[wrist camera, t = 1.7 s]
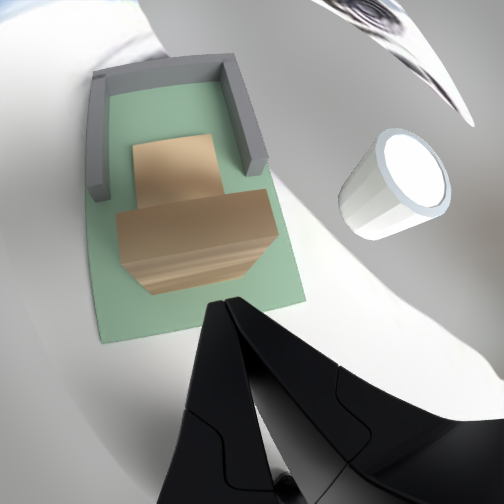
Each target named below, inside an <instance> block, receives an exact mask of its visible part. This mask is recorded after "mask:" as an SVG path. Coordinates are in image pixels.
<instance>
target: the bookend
mask: <svg viewBox="0 0 504 504" xmlns="http://www.w3.org/2000/svg"><path fill="white" fill-rule="evenodd" d="M133 160H134V173H135V185H136V196H137V205H138V209H136V210H131V211H125V212H121V213H116V214H115V215H116V226H117V236H118V245H119V253H120V261H121V265H122V266H123V267H124V268H125V269H126V270H127V271H128V272H129V273H130V274H131V275H132V276H133V277H134V278H135V279H136V280H137V281H138V282H139V283H140V284H141V285H142V286H143V287H144V288H145V289H146V290H147V291H148V292H149V293H150V294H151V295H158V294H163V293H168V292H173V291H178V290H184V289H189V288H194V287H199V286H204V285H209V284H214V283H219V282H224V281H229V280H234V279H238V278H242V277H243V276H244V275H245V274H246V272H247V271H248V270H249V269H250V268H251V267H252V266H253V264H254V263H255V262H256V261H257V260H258V259H259V258H260V256H261V255H262V254H263V253H264V252H265V251H266V250H267V248H268V247H269V246H270V245H271V244H272V243H273V241H274V240H275V239H276V238H277V237H278V236H279V233H278V230H277V226H276V222H275V219H274V215H273V211H272V208H271V204H270V201H269V197H268V194H267V190H266V189H259V190H251V191H244V192H237V193H230V194H225V193H224V189H223V184H222V180H221V176H220V171H219V167H218V162H217V158H216V153H215V149H214V144H213V140H212V135H211V134H204V135H196V136H188V137H181V138H174V139H168V140H161V141H155V142H150V143H144V144H138V145H133Z"/></svg>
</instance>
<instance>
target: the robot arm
mask: <svg viewBox="0 0 504 504" xmlns="http://www.w3.org/2000/svg"><path fill="white" fill-rule="evenodd" d="M253 401H254V402H253ZM254 403H255V405H256V407H257V409H258V411H259V413H260V415H261V417H262V419H263V421H264V423H265V425H266V427H267V429H268V431H269V433H270V435H271V437H272V439H273V441H274V443H275V444H276V446H277V448H278V450H279V452H280V454H281V456H282V458H283V460H284V461H285V463H286V465H287V467H288V469H289V471H290V473H291V474H292V475H291V474H289V473H283V474H281V475H280V476H279V477H278V478H277V479H276V480H275V481H274V482H273V480H272V476H271V472H270V468H269V464H268V460H267V456H266V452H265V448H264V444H263V440H262V435H261V431H260V427H259V423H258V419H257V414H256V410H255V406H254ZM284 478H288V479H287V480H286V481H283V479H284ZM156 504H504V419H495V420H481V421H455V420H450V419H446V418H442V417H439V416H437V415H434V414H432V413H430V412H427V411H425V410H423V409H421V408H418V407H416V406H414V405H412V404H410V403H407V402H405V401H403V400H401V399H399V398H397V397H395V396H393V395H390V394H388V393H387V392H385V391H383V390H381V389H379V388H377V387H375V386H373V385H371V384H369V383H368V382H366V381H364V380H363V379H361V378H359V377H358V376H356V375H354V374H353V373H351V372H350V371H348V370H347V369H345V368H344V367H342V366H339V367H338V364H337V363H336V362H334V361H333V360H331V359H330V358H328V357H327V356H325V355H324V354H322V353H321V352H319V351H318V350H316V349H315V348H313V347H312V346H310V345H309V344H307V343H306V342H305V341H303V340H302V339H300V338H299V337H297V336H296V335H294V334H293V333H291V332H290V331H288V330H287V329H286V328H284V327H283V326H281V325H280V324H278V323H277V322H276V321H274V320H273V319H271V318H270V317H268V316H267V315H266V314H264V313H263V312H261V311H260V310H258V309H257V308H256V307H254V306H253V305H251V304H250V303H249V302H247V301H246V300H244V299H243V298H242V297H239V296H237V297H232V298H227V299H225V301H223V300H218V301H213V302H209V303H208V304H207V307H206V312H205V316H204V320H203V325H202V329H201V334H200V338H199V343H198V347H197V352H196V356H195V361H194V365H193V370H192V375H191V380H190V384H189V389H188V394H187V399H186V404H185V410H184V413H183V418H182V423H181V427H180V431H179V436H178V440H177V444H176V447H175V451H174V454H173V457H172V460H171V464H170V467H169V470H168V472H167V475H166V478H165V481H164V484H163V486H162V489H161V492H160V495H159V498H158V501H157V503H156Z"/></svg>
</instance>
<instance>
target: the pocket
mask: <svg viewBox="0 0 504 504" xmlns="http://www.w3.org/2000/svg"><path fill="white" fill-rule="evenodd" d="M215 81H220V84H221V88H222V92H223V95H224V99H225V102H226V106H227V110H228V113H229V117H230V121H231V125H232V128H233V132H234V136H235V139H236V143H237V147H238V151H239V154H240V158H241V162H242V166H243V169H244V173H245V177H250V176H259V175H261V174H262V172H263V169H264V167H265V165H266V163H267V161H268V158H269V157H268V154H267V151H266V148H265V145H264V141H263V138H262V135H261V132H260V129H259V126H258V122H257V119H256V117H255V114H254V110H253V107H252V104H251V101H250V98H249V95H248V93H247V89H246V87H245V84H244V81H243V78H242V75H241V72H240V69H239V66H238V64H237V61H236V58H235V55H234V53H228V54H207V55H193V56H183V57H173V58H165V59H157V60H150V61H144V62H138V63H132V64H127V65H121V66H116V67H112V68H107V69H102V70H98V71H94V72H93V77H92V84H91V93H90V102H89V112H88V124H87V140H86V178H85V181H86V189H87V190H88V192H89V194H90V195H91V197H92V198H93V200H94V201H95V203H97V202H102V201H106V200H111V194H110V172H109V112H110V96H114V95H119V94H124V93H130V92H135V91H141V90H147V89H153V88H160V87H167V86H174V85H183V84H192V83H203V82H215Z"/></svg>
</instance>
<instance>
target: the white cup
mask: <svg viewBox="0 0 504 504" xmlns="http://www.w3.org/2000/svg"><path fill="white" fill-rule="evenodd" d="M338 198H339V209H340V212H341V214H342V217H343V219H344V221H345V223H346V224H347V225H348V226H349V227H350V229H351V230H352V231H353V232H355V233H356V234H358V235H359V236H361V237H363V238H364V239H371V240H378V239H381V238H384V237H386V236H389V235H392V234H394V233H397V232H399V231H402V230H404V229H407V228H410V227H412V226H415V225H417V224H420V223H422V222H425V221H427V220H430V219H433V218H435V217H438V216H440V215H443V214H444V212H445V211H446V209H447V208H448V206H449V205H450V199H451V186H450V182H449V178H448V174H447V172H446V170H445V168H444V166H443V164H442V162H441V160H440V158H439V157H438V155H437V154H436V153H435V152H434V151H433V149H432V148H431V147H430V146H429V145H428V144H427V143H426V142H425V141H424V140H422V139H421V138H419V137H418V136H417V135H415V134H414V133H412V132H409V131H407V130H404V129H401V128H391V129H387V130H385V131H384V132H383V133H381V134H380V135H379V136H378V138H377V139H376V140H375V142H374V143H373V144H372V146H371V147H370V149H369V150H368V152H367V153H366V154H365V155H364V157H363V158H362V160H361V161H360V163H359V164H358V165H357V167H356V168H355V169H354V171H353V172H352V174H351V175H350V176H349V178H348V179H347V180H346V182H345V183H344V185H343V186H342V188H341V191H340V193H339V197H338Z"/></svg>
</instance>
